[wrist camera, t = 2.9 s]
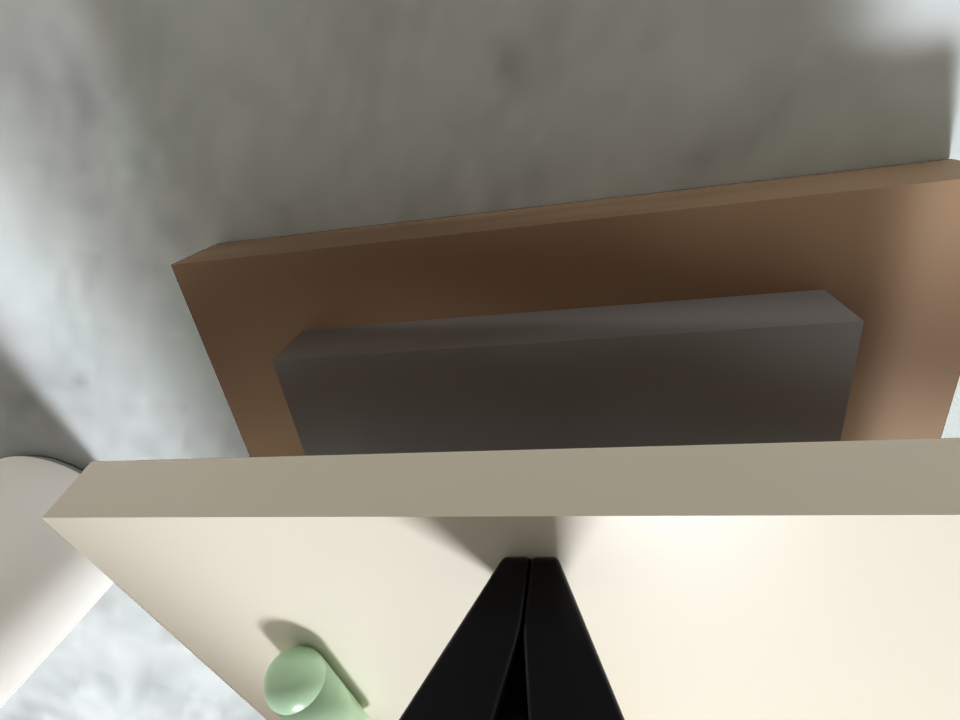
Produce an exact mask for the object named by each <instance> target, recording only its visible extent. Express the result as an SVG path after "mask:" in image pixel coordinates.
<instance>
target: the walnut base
mask: <svg viewBox="0 0 960 720" xmlns="http://www.w3.org/2000/svg"><path fill="white" fill-rule="evenodd" d="M171 266H172V268H173V271H174V273H175V276H176V278H177V281H178V283H179V285H180V288H181V290H182V293H183V295H184V298H185V300H186V302H187V305H188V307H189V310H190V312H191V314H192V317H193V319H194V322H195V324H196V327H197V329H198V331H199V334H200V336H201V339H202V341H203V343H204V346H205V348H206V351H207V353H208V356H209V358H210V360H211V363H212V365H213V368H214V370H215V372H216V375H217V377H218V380H219V382H220V385H221V387H222V389H223V392H224V394H225V397H226V399H227V401H228V404H229V406H230V409H231V411H232V414H233V416H234V418H235V421H236V423H237V426H238V428H239V431H240V433H241V435H242V438H243V440H244V443H245V445H246V447H247V450H248V452H249V455H250V457H280V456H316V455H353V454H389V453H426V452H462V451H499V450H535V449H572V448H608V447H645V446H682V445H718V444H755V443H791V442H828V441H864V440H901V439H937V438H941V436H942V433H943V429H944V426H945V423H946V419H947V416H948V413H949V409H950V406H951V402H952V399H953V396H954V392H955V389H956V386H957V382H958V379H959V376H960V161H959V160H954V159H946V160H937V161H929V162H920V163H911V164H903V165H894V166H885V167H877V168H868V169H859V170H851V171H842V172H833V173H825V174H816V175H808V176H799V177H790V178H782V179H773V180H764V181H756V182H747V183H738V184H730V185H721V186H712V187H704V188H695V189H686V190H678V191H669V192H660V193H652V194H643V195H634V196H626V197H617V198H609V199H600V200H591V201H583V202H574V203H565V204H557V205H548V206H539V207H531V208H522V209H513V210H505V211H496V212H487V213H479V214H470V215H461V216H453V217H444V218H436V219H427V220H418V221H410V222H401V223H392V224H384V225H375V226H366V227H358V228H349V229H340V230H332V231H323V232H314V233H306V234H297V235H288V236H280V237H271V238H263V239H254V240H245V241H237V242H228V243H219V244H216V245H214V246H211V247H209V248H207V249H205V250H203V251H201V252H198V253H196V254H194V255H192V256H190V257H187V258H185V259H183V260H181V261H179V262H176V263H174V264H172V265H171Z"/></svg>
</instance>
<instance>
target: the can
mask: <svg viewBox="0 0 960 720" xmlns="http://www.w3.org/2000/svg"><path fill="white" fill-rule="evenodd" d="M82 472H83V471H82V470H80V469H78V468H76V467H74V466H72V465H70V464H67V463H65V462H62V461H59V460H56V459H52V458H47V457H41V456H12V457H5V458H2V459H0V708H1V707H2V706H3V705H4V704H5V703H6V702H7V701H8V700H9V699H10V697H11V696H12V695H13V694H14V693H15V692H16V691H17V690H18V689H19V687H20V686H21V685H22V684H23V683H24V682H25V681H26V680H27V679H28V678H29V676H30V675H31V674H32V673H33V672H34V671H35V670H36V669H37V668H38V666H39V665H40V664H41V663H42V662H43V661H44V660H45V659H46V658H47V657H48V655H49V654H50V653H51V652H52V651H53V650H54V649H55V648H56V647H57V645H58V644H59V643H60V642H61V641H62V640H63V639H64V638H65V637H66V636H67V634H68V633H69V632H70V631H71V630H72V629H73V628H74V627H75V626H76V624H77V623H78V622H79V621H80V620H81V619H82V618H83V617H84V616H85V614H86V613H87V612H88V611H89V610H90V609H91V608H92V607H93V606H94V604H95V603H96V602H97V601H98V600H99V599H100V598H101V597H102V596H103V594H104V593H105V592H106V591H107V590H108V589H109V588H110V587H111V585H112V584H113V583H114V582H113V581H112V580H110V579H109V578H108V577H107V576H106V575H105V574H104V573H103V572H102V571H100V570H99V569H98V568H97V567H96V566H95V565H94V564H93V563H91V562H90V561H89V560H88V559H87V558H86V557H85V556H84V555H83V554H81V553H80V552H79V551H78V550H77V549H76V548H75V547H74V546H72V545H71V544H70V543H69V542H68V541H67V540H66V539H65V538H64V537H62V536H61V535H60V534H59V533H58V532H57V531H56V530H55V529H54V528H52V527H51V526H50V525H49V524H48V523H47V522H46V521H45V520H43V519H42V517H43V516H44V514H45V513H46V512H47V511H48V510H49V509H50V508H51V507H52V505H53V504H54V503H55V502H56V501H57V500H58V499H59V498H60V496H61V495H62V494H63V493H64V492H65V491H66V490H67V489H68V487H69V486H70V485H71V484H72V483H73V482H74V481H75V480H76V478H77V477H78V476H79V475H80V474H81V473H82Z"/></svg>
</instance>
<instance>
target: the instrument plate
mask: <svg viewBox="0 0 960 720" xmlns="http://www.w3.org/2000/svg"><path fill="white" fill-rule="evenodd" d="M42 519H43V520H45V521H46V522H47V523H48V524H49V525H50V526H51V527H52V528H54V529H55V530H56V531H57V532H58V533H59V534H60V535H61V536H62V537H64V538H65V539H66V540H67V541H68V542H69V543H70V544H71V545H72V546H74V547H75V548H76V549H77V550H78V551H79V552H80V553H81V554H83V555H84V556H85V557H86V558H87V559H88V560H89V561H90V562H91V563H93V564H94V565H95V566H96V567H97V568H98V569H99V570H100V571H102V572H103V573H104V574H105V575H106V576H107V577H108V578H109V579H110V580H112V581H113V582H114V583H115V584H116V585H117V586H118V587H119V588H120V589H122V590H123V591H124V592H125V593H126V594H127V595H128V596H129V597H131V598H132V599H133V600H134V601H135V602H136V603H137V604H138V605H139V606H141V607H142V608H143V609H144V610H145V611H146V612H147V613H148V614H149V615H151V616H152V617H153V618H154V619H155V620H156V621H157V622H158V623H160V624H161V625H162V626H163V627H164V628H165V629H166V630H167V631H168V632H170V633H171V634H172V635H173V636H174V637H175V638H176V639H177V640H179V641H180V642H181V643H182V644H183V645H184V646H185V647H186V648H187V649H189V650H190V651H191V652H192V653H193V654H194V655H195V656H196V657H197V658H199V659H200V660H201V661H202V662H203V663H204V664H205V665H206V666H208V667H209V668H210V669H211V670H212V671H213V672H214V673H215V674H216V675H218V676H219V677H220V678H221V679H222V680H223V681H224V682H225V683H227V684H228V685H229V686H230V687H231V688H232V689H233V690H234V691H235V692H237V693H238V694H239V695H240V696H241V697H242V698H243V699H244V700H245V701H247V702H248V703H249V704H250V705H251V706H252V707H253V708H254V709H256V710H257V711H258V712H259V713H260V714H261V715H262V716H263V717H264V718H266V719H267V720H399V719H400V717H401V716H402V714H403V712H404V711H405V709H406V708H407V706H408V705H409V703H410V702H411V700H412V698H413V697H414V695H415V694H416V692H417V691H418V689H419V688H420V686H421V684H422V683H423V681H424V680H425V678H426V677H427V675H428V673H429V672H430V670H431V669H432V667H433V666H434V664H435V663H436V661H437V659H438V658H439V656H440V655H441V653H442V652H443V650H444V649H445V647H446V645H447V644H448V642H449V641H450V639H451V638H452V636H453V635H454V633H455V631H456V630H457V628H458V627H459V625H460V624H461V622H462V621H463V619H464V617H465V616H466V614H467V613H468V611H469V610H470V608H471V607H472V605H473V603H474V602H475V600H476V599H477V597H478V596H479V594H480V593H481V591H482V589H483V588H484V586H485V585H486V583H487V582H488V580H489V579H490V577H491V575H492V574H493V572H494V571H495V569H496V568H497V566H498V565H499V563H500V562H501V560H502V559H503V558H505V557H527V558H529V559H530V561H531V560H532V559H533V558H534V557H555V558H557V559H558V560H559V561H560V563H561V566H562V568H563V571H564V573H565V576H566V578H567V580H568V583H569V585H570V588H571V590H572V593H573V595H574V597H575V600H576V602H577V605H578V607H579V610H580V612H581V614H582V617H583V619H584V622H585V624H586V627H587V629H588V631H589V634H590V636H591V639H592V641H593V644H594V646H595V648H596V651H597V653H598V656H599V658H600V661H601V663H602V665H603V668H604V670H605V673H606V675H607V678H608V680H609V682H610V685H611V687H612V690H613V692H614V695H615V697H616V699H617V702H618V704H619V707H620V709H621V712H622V714H623V716H624V719H625V720H960V438H937V439H901V440H864V441H828V442H791V443H755V444H718V445H682V446H645V447H608V448H572V449H535V450H499V451H462V452H426V453H389V454H353V455H316V456H280V457H243V458H207V459H170V460H134V461H97V462H91V463H90V464H89V465H88V466H87V467H86V468H85V469H84V470H83V472H82V473H81V474H80V475H79V476H78V477H77V478H76V480H75V481H74V482H73V483H72V484H71V485H70V486H69V487H68V489H67V490H66V491H65V492H64V493H63V494H62V495H61V496H60V498H59V499H58V500H57V501H56V502H55V503H54V504H53V505H52V507H51V508H50V509H49V510H48V511H47V512H46V513H45V514H44V516H43V517H42Z"/></svg>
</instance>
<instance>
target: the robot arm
mask: <svg viewBox="0 0 960 720" xmlns="http://www.w3.org/2000/svg"><path fill="white" fill-rule="evenodd" d="M399 720H625V719H624V716H623V714H622V712H621V709H620V707H619V704H618V702H617V699H616V697H615V695H614V692H613V690H612V687H611V685H610V682H609V680H608V678H607V675H606V673H605V670H604V668H603V665H602V663H601V661H600V658H599V656H598V653H597V651H596V648H595V646H594V644H593V641H592V639H591V636H590V634H589V631H588V629H587V627H586V624H585V622H584V619H583V617H582V614H581V612H580V610H579V607H578V605H577V602H576V600H575V597H574V595H573V593H572V590H571V588H570V585H569V583H568V580H567V578H566V576H565V573H564V571H563V568H562V566H561V563H560V561H559V560H558V559H557V558H555V557H534V558H533V559H532V560H531V561H530V559H529V558H527V557H505V558H503V559H502V560H501V562H500V563H499V565H498V566H497V568H496V569H495V571H494V572H493V574H492V575H491V577H490V579H489V580H488V582H487V583H486V585H485V586H484V588H483V589H482V591H481V593H480V594H479V596H478V597H477V599H476V600H475V602H474V603H473V605H472V607H471V608H470V610H469V611H468V613H467V614H466V616H465V617H464V619H463V621H462V622H461V624H460V625H459V627H458V628H457V630H456V631H455V633H454V635H453V636H452V638H451V639H450V641H449V642H448V644H447V645H446V647H445V649H444V650H443V652H442V653H441V655H440V656H439V658H438V659H437V661H436V663H435V664H434V666H433V667H432V669H431V670H430V672H429V673H428V675H427V677H426V678H425V680H424V681H423V683H422V684H421V686H420V688H419V689H418V691H417V692H416V694H415V695H414V697H413V698H412V700H411V702H410V703H409V705H408V706H407V708H406V709H405V711H404V712H403V714H402V716H401V717H400V719H399Z"/></svg>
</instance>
